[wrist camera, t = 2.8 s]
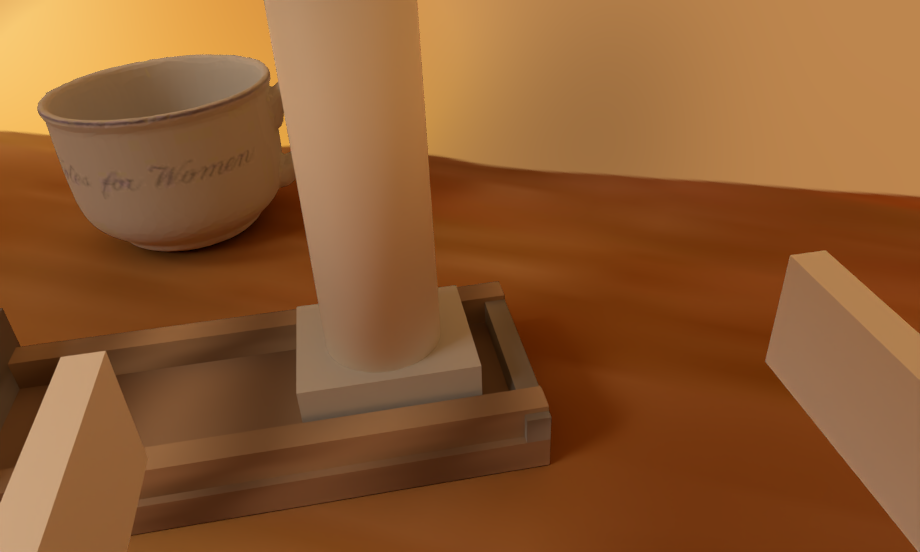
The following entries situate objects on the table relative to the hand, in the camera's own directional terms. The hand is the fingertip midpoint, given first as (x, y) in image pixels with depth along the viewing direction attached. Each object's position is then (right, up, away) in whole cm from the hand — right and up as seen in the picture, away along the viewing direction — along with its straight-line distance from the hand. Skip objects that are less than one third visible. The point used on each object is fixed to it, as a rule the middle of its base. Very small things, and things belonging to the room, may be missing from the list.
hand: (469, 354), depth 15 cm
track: (-8, -4, +13) cm, 15 cm away
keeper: (-3, -2, +13) cm, 13 cm away
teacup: (-13, +4, +26) cm, 29 cm away
